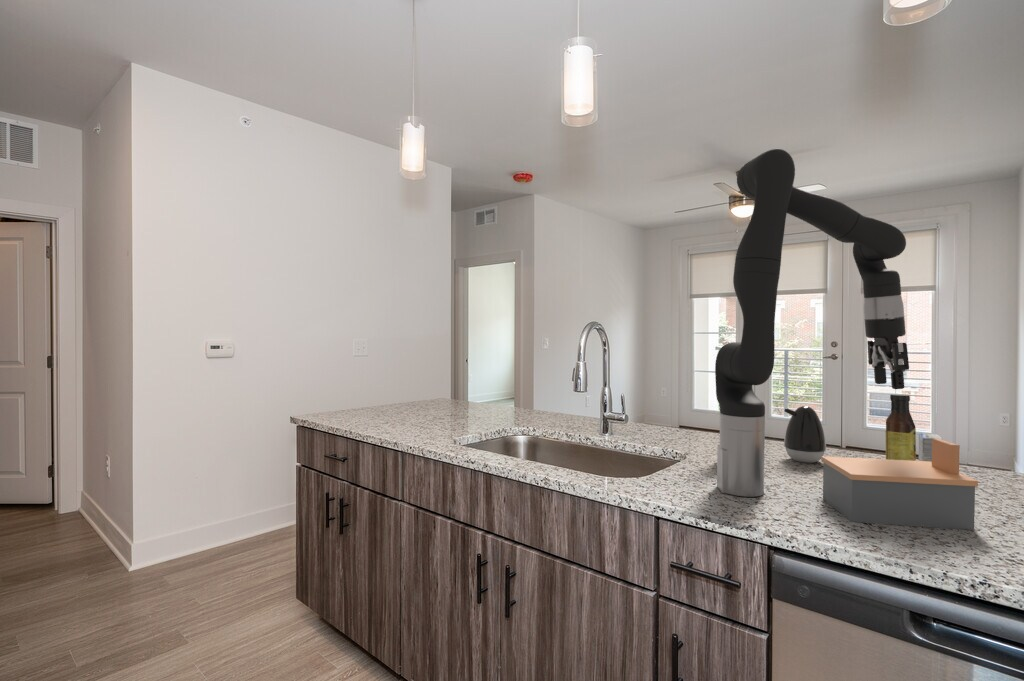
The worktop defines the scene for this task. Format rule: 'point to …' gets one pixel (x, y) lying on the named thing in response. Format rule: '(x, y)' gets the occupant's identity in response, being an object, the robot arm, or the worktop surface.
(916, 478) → the lid
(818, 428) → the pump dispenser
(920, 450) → the medicine box
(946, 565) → the worktop surface
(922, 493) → the tub
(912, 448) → the sauce bottle
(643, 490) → the worktop surface
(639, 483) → the worktop surface
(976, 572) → the worktop surface
